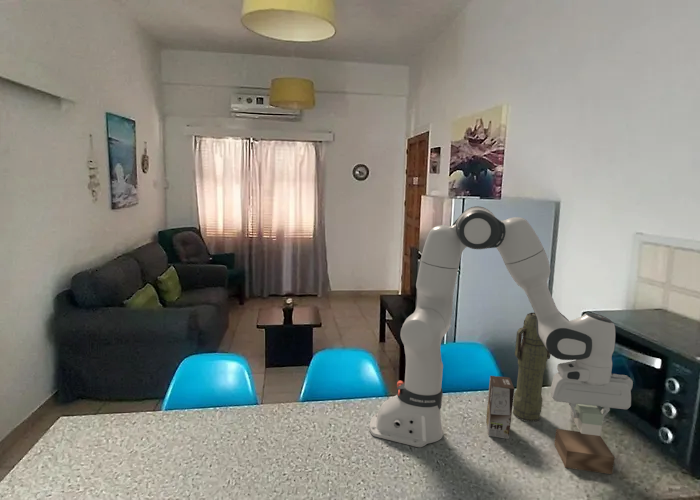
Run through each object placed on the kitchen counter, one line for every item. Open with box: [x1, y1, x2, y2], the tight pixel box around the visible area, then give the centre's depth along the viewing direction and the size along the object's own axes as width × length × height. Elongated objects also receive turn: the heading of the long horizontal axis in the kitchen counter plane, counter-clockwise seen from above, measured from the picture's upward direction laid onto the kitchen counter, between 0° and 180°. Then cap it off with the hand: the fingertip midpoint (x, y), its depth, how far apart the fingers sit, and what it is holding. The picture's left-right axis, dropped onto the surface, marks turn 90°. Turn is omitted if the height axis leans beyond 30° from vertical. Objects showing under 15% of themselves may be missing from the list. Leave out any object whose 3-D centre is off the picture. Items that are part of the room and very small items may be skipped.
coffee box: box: [485, 375, 515, 440], centre depth 146 cm, size 9×6×16 cm
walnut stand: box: [554, 428, 615, 475], centre depth 133 cm, size 12×12×5 cm
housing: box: [572, 404, 604, 437], centre depth 131 cm, size 8×5×6 cm, turn 170°
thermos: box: [512, 312, 552, 422], centre depth 155 cm, size 9×12×35 cm
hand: (587, 418), depth 132 cm, fingers closed on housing, 5 cm apart
